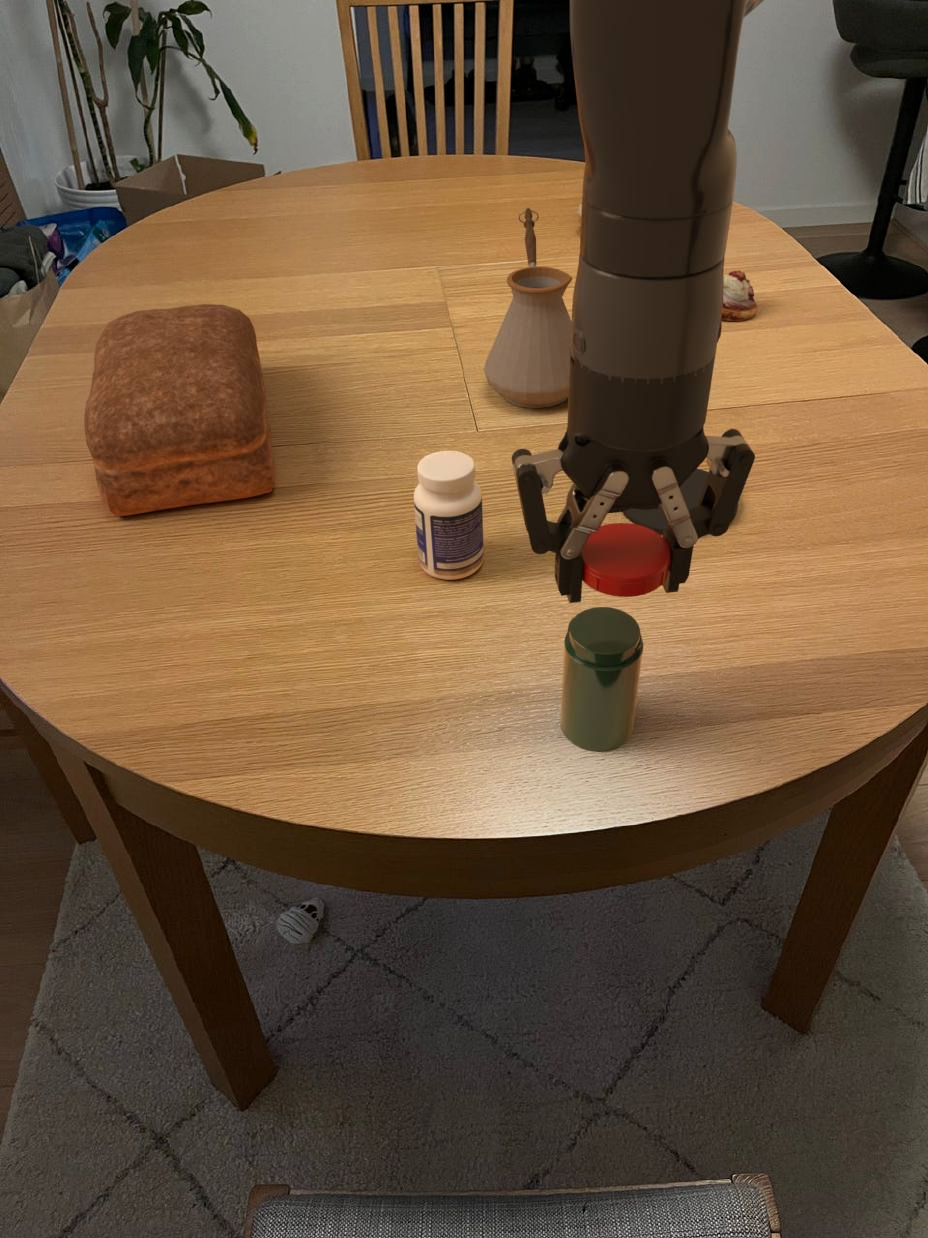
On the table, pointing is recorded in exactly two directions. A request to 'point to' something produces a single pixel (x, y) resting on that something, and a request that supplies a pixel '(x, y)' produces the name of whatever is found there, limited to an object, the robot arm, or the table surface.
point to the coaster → (657, 517)
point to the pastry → (737, 298)
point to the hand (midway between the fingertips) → (619, 588)
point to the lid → (625, 560)
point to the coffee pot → (533, 335)
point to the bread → (178, 410)
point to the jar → (600, 678)
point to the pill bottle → (448, 516)
